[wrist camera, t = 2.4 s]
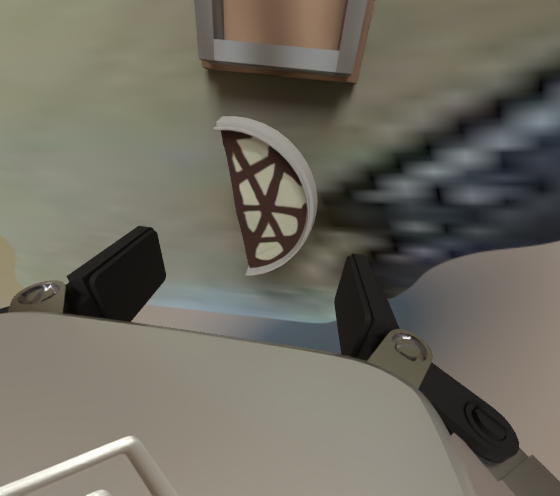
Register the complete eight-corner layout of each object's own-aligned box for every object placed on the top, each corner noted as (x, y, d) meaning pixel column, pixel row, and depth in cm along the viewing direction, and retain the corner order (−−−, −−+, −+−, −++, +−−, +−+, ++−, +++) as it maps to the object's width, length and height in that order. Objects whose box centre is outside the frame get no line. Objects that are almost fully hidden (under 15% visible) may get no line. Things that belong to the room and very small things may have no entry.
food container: (316, 226, 27) (318, 280, 19) (265, 228, 28) (246, 280, 20) (314, 105, 21) (316, 106, 13) (249, 112, 22) (210, 118, 14)
